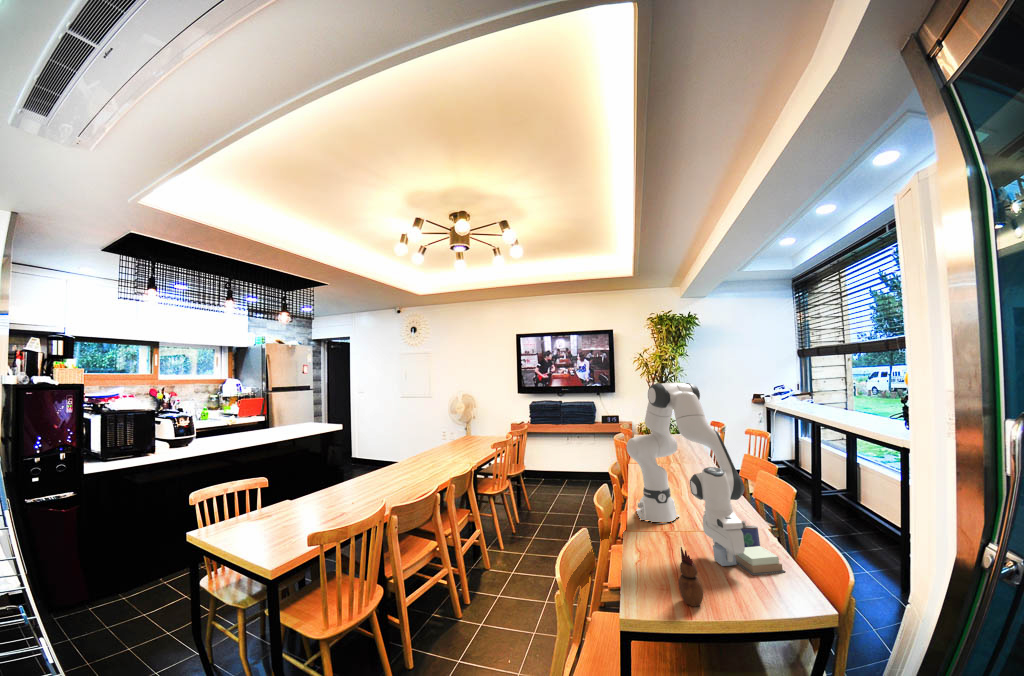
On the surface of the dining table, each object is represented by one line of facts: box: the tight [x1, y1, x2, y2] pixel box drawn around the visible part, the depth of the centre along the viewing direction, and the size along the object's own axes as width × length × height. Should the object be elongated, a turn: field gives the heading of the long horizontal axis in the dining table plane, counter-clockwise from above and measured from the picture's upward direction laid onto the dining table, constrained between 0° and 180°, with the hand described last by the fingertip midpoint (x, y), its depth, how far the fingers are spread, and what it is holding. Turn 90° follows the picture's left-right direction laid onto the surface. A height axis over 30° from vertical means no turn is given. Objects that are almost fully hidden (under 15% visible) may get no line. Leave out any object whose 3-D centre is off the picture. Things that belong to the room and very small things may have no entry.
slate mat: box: [736, 561, 786, 576], centre depth 137 cm, size 11×11×1 cm
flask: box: [740, 520, 761, 547], centre depth 150 cm, size 9×3×11 cm, turn 68°
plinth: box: [735, 545, 784, 573], centre depth 137 cm, size 10×10×4 cm
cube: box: [712, 544, 737, 567], centre depth 141 cm, size 5×5×5 cm
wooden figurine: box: [678, 546, 704, 607], centre depth 118 cm, size 7×6×15 cm
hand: (724, 557), depth 141 cm, fingers closed on cube, 5 cm apart
